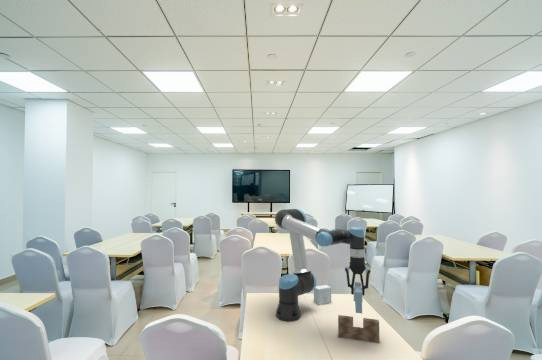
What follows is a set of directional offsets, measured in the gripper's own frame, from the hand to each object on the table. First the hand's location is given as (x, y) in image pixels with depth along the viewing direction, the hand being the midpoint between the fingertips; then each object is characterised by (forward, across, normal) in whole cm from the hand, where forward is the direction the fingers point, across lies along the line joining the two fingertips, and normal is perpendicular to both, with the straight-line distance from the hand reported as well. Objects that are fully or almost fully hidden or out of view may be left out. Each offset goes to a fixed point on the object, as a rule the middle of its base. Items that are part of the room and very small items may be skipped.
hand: (358, 300), depth 148 cm
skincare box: (+17, -22, +38) cm, 47 cm away
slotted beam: (+17, 0, -5) cm, 18 cm away
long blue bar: (+1, 0, -6) cm, 6 cm away
